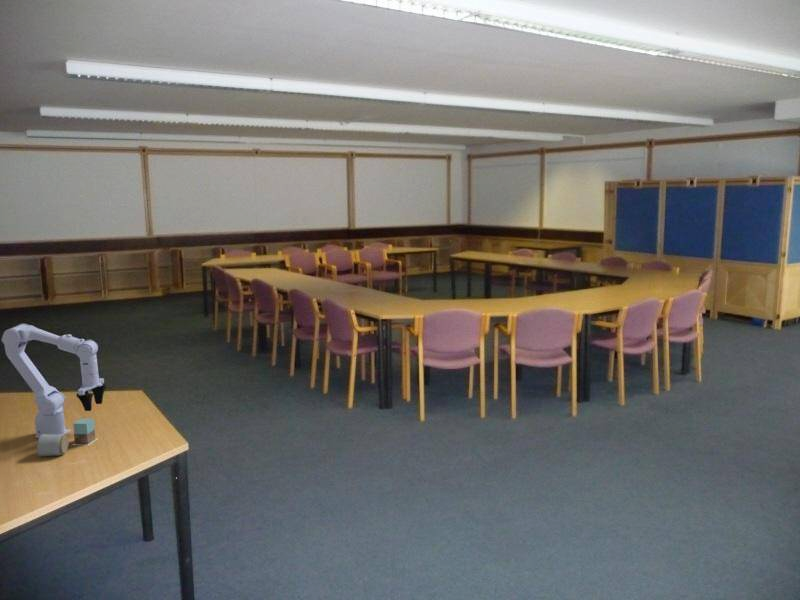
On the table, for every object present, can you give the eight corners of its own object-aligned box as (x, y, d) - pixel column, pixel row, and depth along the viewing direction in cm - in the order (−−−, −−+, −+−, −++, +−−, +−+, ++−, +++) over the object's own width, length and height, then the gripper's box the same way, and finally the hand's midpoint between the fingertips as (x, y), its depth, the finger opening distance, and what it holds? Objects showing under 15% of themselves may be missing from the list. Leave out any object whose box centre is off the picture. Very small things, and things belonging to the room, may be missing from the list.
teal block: (74, 433, 232) (73, 423, 232) (82, 428, 237) (81, 418, 237) (87, 434, 232) (86, 423, 231) (94, 429, 237) (93, 418, 236)
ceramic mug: (62, 458, 222) (60, 437, 220) (37, 460, 221) (35, 439, 219) (73, 446, 232) (71, 426, 231) (49, 448, 231) (47, 428, 230)
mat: (61, 446, 231) (61, 446, 231) (75, 437, 240) (75, 436, 240) (87, 447, 231) (87, 446, 231) (100, 437, 240) (100, 437, 240)
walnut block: (74, 444, 233) (73, 433, 232) (82, 438, 238) (81, 428, 237) (88, 444, 233) (87, 434, 232) (95, 439, 238) (94, 428, 237)
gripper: (89, 378, 233) (93, 413, 235) (110, 367, 247) (113, 400, 249) (71, 378, 233) (75, 413, 236) (92, 367, 247) (96, 400, 250)
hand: (93, 407), depth 242 cm, fingers open, 7 cm apart
